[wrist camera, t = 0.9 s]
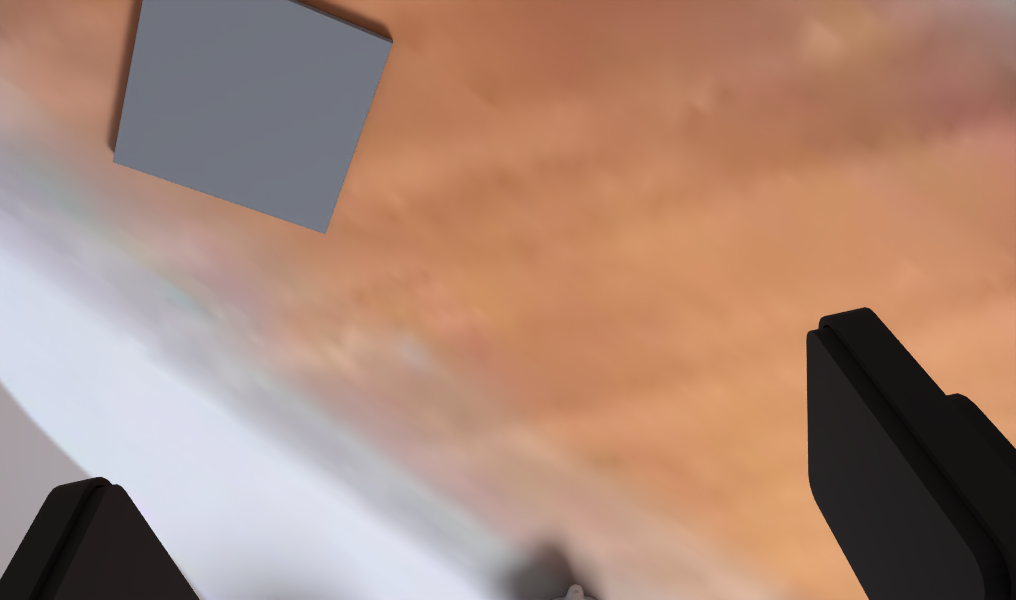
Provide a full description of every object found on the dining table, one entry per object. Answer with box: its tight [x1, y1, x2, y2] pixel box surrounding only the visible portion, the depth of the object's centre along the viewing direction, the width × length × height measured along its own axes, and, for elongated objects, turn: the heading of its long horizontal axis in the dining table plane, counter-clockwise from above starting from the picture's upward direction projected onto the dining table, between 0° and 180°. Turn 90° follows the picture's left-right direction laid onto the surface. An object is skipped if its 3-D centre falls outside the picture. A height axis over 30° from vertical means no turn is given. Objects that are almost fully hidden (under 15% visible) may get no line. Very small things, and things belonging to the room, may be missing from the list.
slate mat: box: [113, 0, 393, 234], centre depth 39 cm, size 11×11×1 cm
